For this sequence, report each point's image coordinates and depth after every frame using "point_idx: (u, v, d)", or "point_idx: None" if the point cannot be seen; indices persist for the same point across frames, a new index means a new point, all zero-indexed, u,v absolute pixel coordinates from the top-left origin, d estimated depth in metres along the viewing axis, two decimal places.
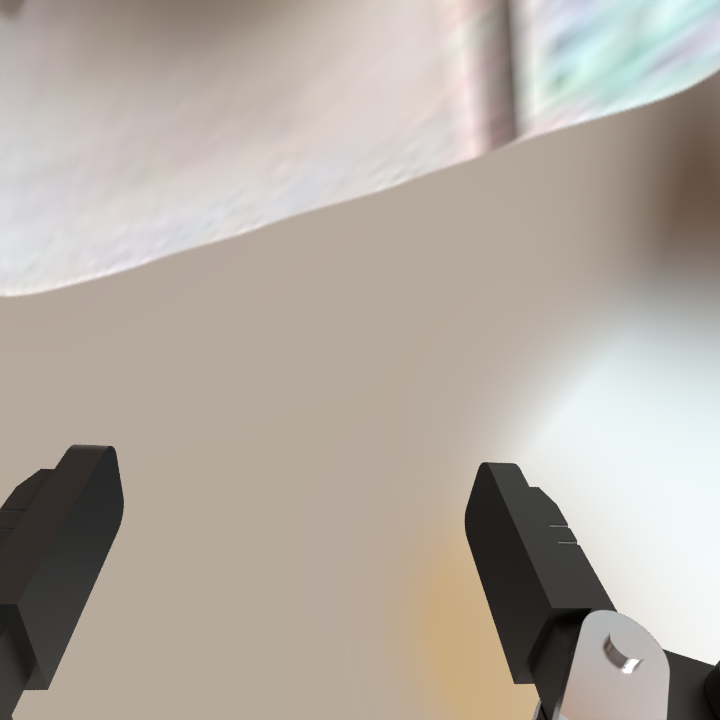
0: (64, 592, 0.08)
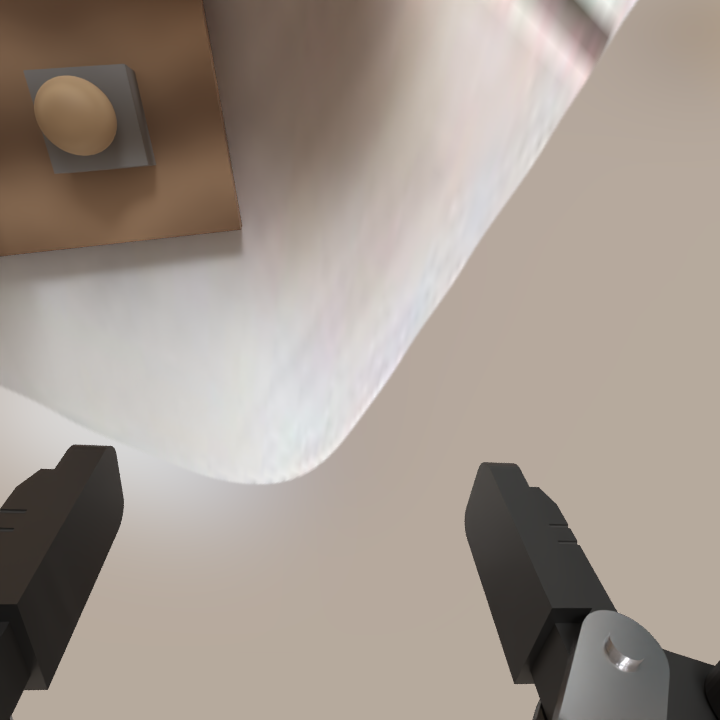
0: (64, 592, 0.08)
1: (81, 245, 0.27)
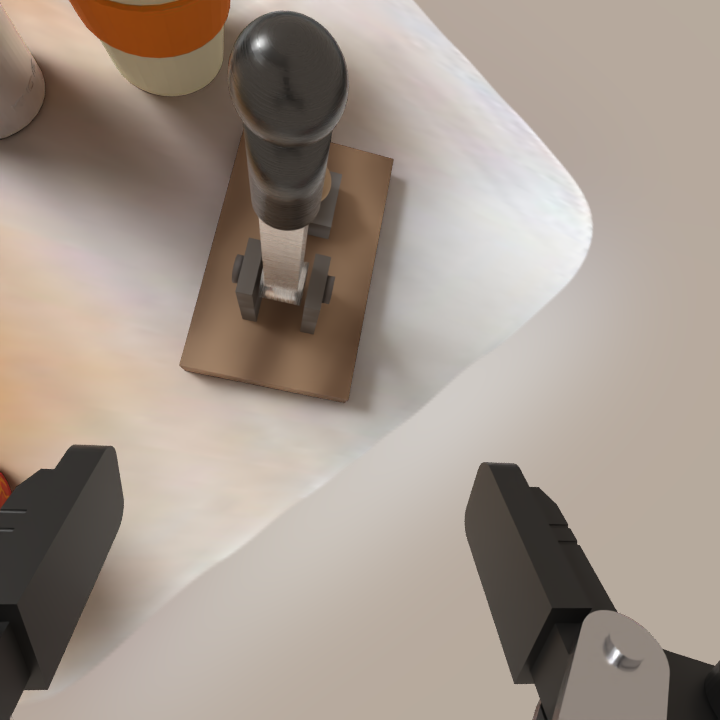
0: (64, 592, 0.08)
1: (374, 256, 0.38)
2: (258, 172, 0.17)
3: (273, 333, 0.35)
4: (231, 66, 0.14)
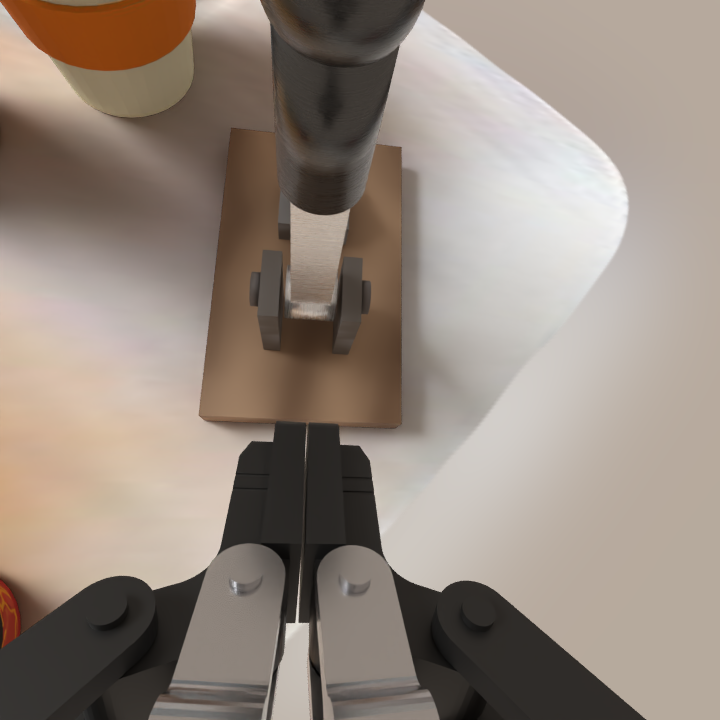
0: None
1: (400, 255, 0.33)
2: (298, 126, 0.13)
3: (302, 361, 0.30)
4: None
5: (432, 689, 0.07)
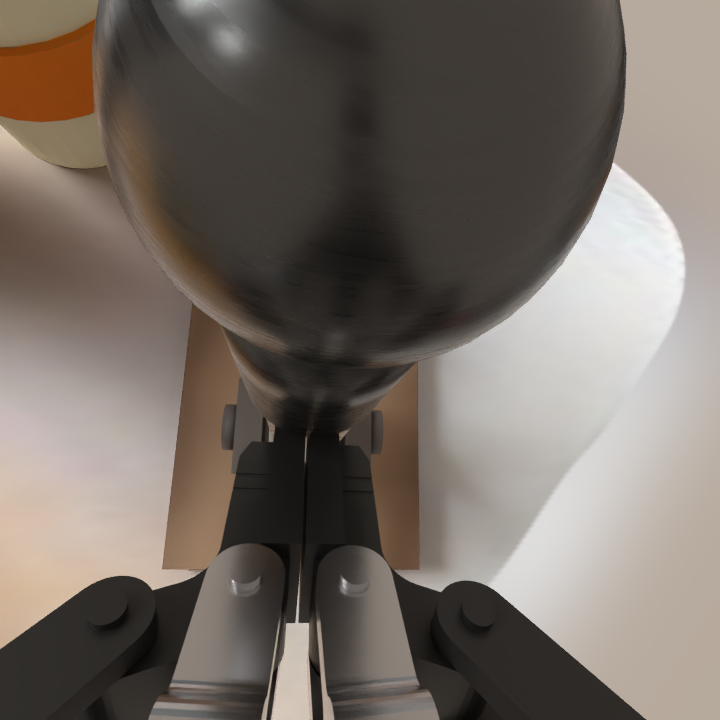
0: None
1: None
2: (264, 382, 0.06)
3: None
4: (99, 96, 0.03)
5: (432, 689, 0.07)
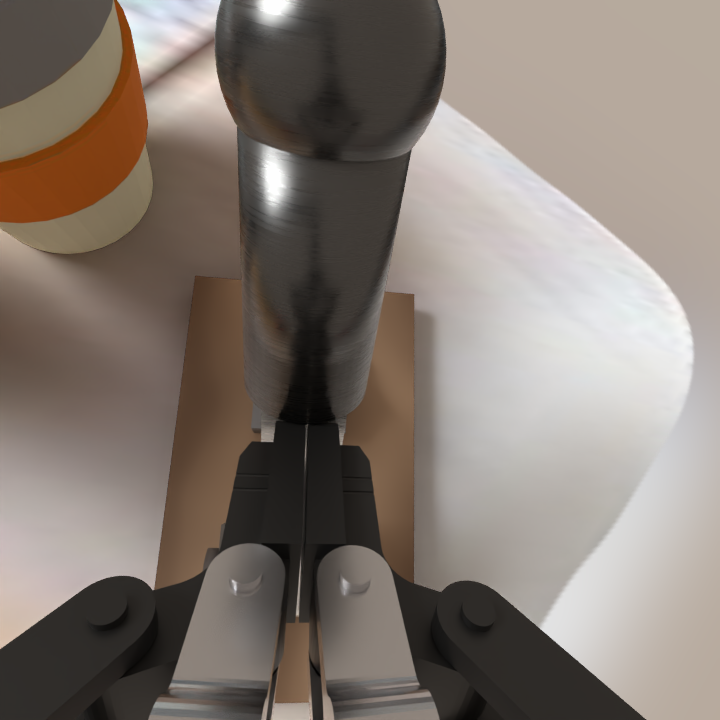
0: None
1: (412, 449, 0.25)
2: (272, 273, 0.09)
3: None
4: None
5: (432, 689, 0.07)
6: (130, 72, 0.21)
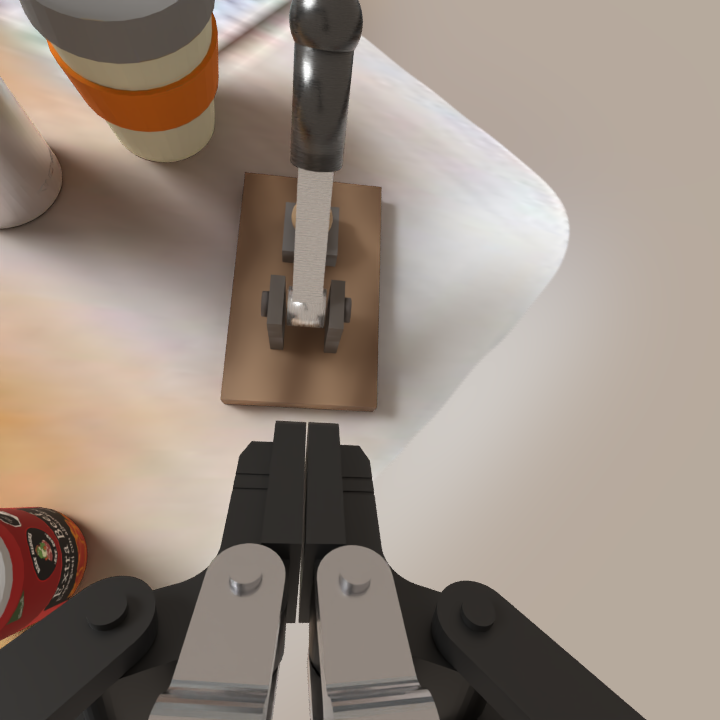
0: None
1: (378, 275, 0.42)
2: (305, 96, 0.25)
3: (300, 358, 0.39)
4: (294, 0, 0.23)
5: (432, 689, 0.07)
6: (216, 43, 0.37)
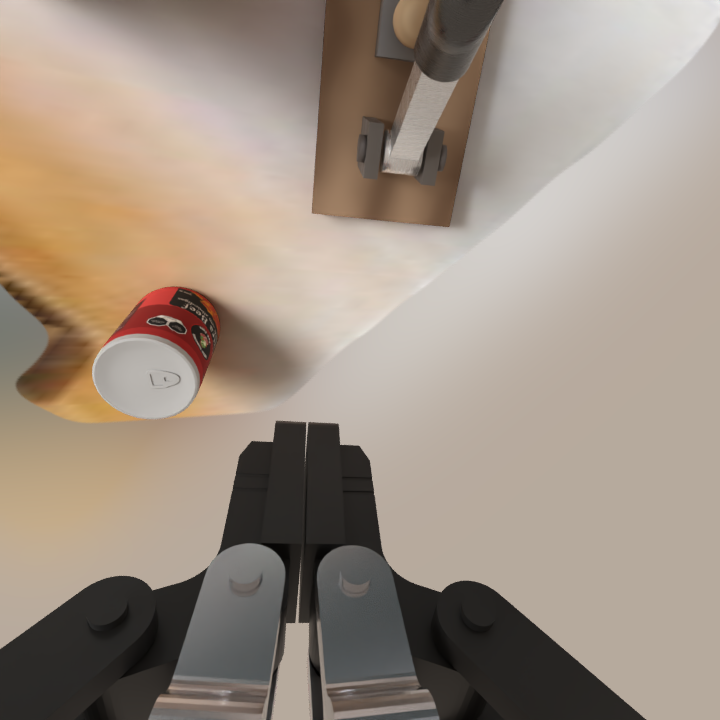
0: None
1: (478, 78, 0.37)
2: (448, 20, 0.21)
3: (385, 176, 0.40)
4: None
5: (432, 689, 0.07)
6: None
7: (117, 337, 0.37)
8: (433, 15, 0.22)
